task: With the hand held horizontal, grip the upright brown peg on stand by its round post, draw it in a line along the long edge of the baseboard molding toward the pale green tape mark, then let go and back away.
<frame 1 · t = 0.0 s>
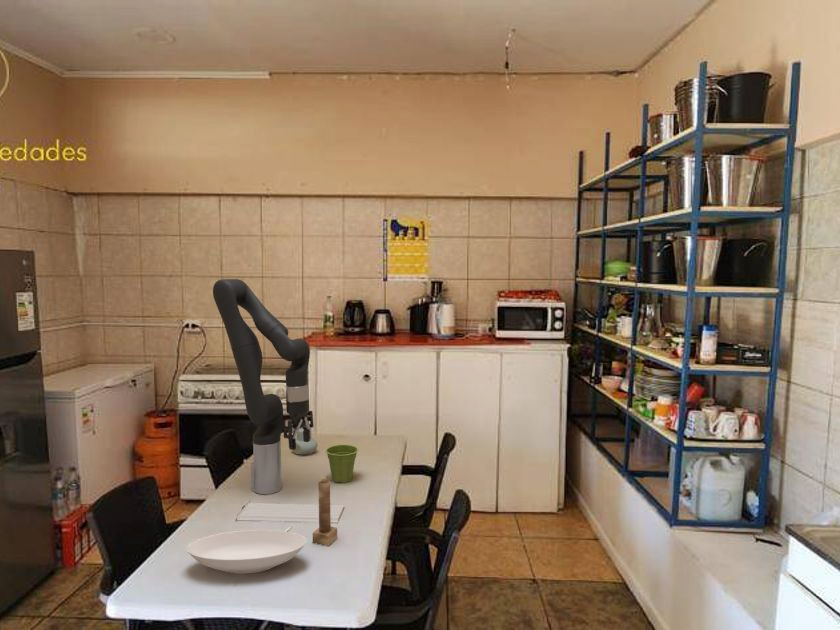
hand: (299, 445, 180), 17 cm above the table, tool pointing down, fingers open, 8 cm apart
brown peg on stand: (325, 540, 151), on the table
bowl: (248, 567, 138), on the table
plant pot: (342, 479, 195), on the table
tape mark: (284, 532, 155), on the table
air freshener: (304, 453, 224), on the table
baseboard molding: (291, 517, 166), on the table
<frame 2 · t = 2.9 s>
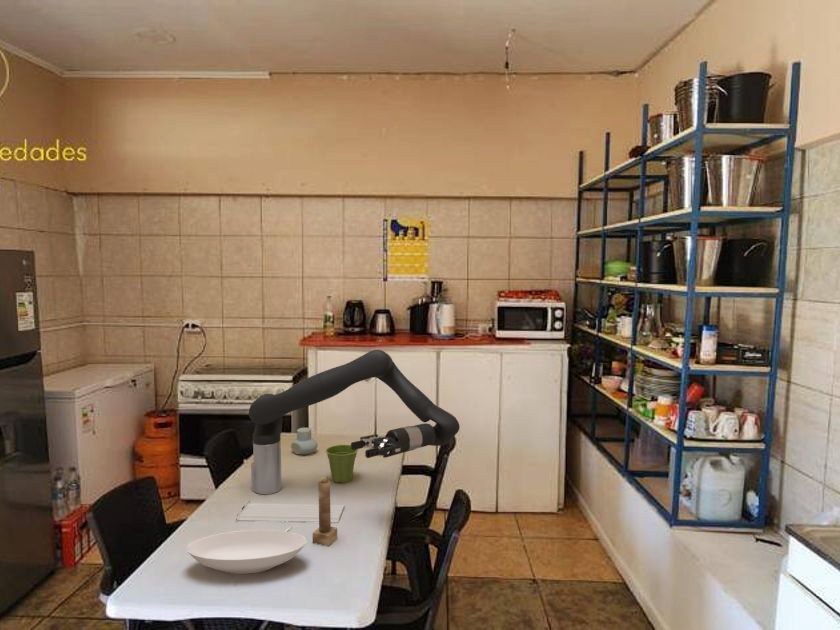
hand: (358, 450, 155), 24 cm above the table, tool horizontal, fingers open, 8 cm apart
nothing on the table moved.
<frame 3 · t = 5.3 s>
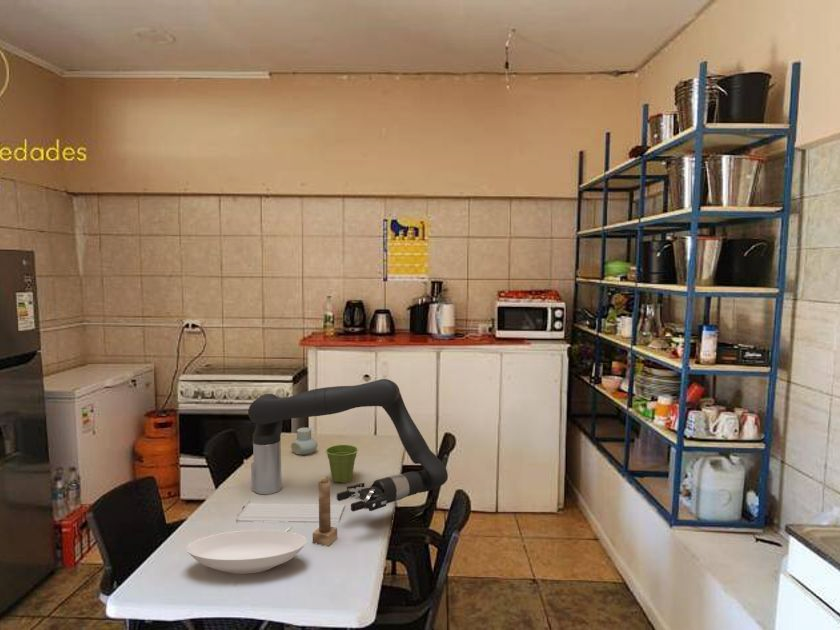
hand: (344, 502, 154), 9 cm above the table, tool horizontal, fingers open, 8 cm apart
nothing on the table moved.
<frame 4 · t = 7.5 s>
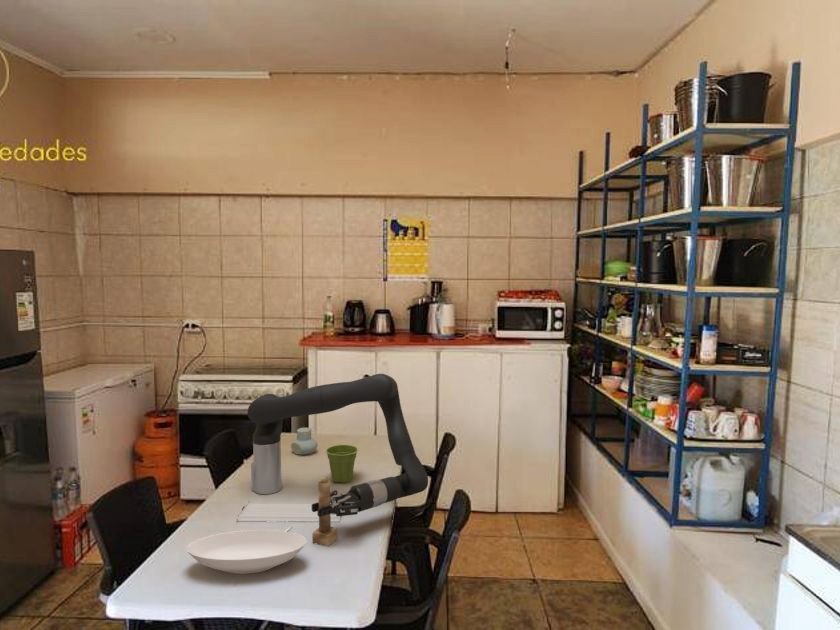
hand: (315, 510, 148), 10 cm above the table, tool horizontal, fingers closed on brown peg on stand, 3 cm apart
brown peg on stand: (325, 540, 151), on the table, touching gripper
everything else where it was.
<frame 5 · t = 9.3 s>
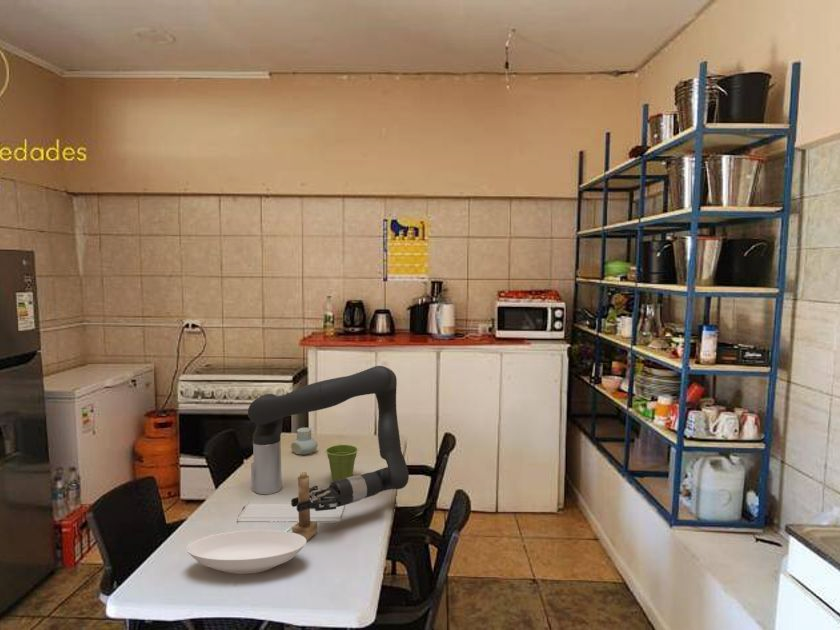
hand: (294, 505, 151), 10 cm above the table, tool horizontal, fingers closed on brown peg on stand, 3 cm apart
brown peg on stand: (304, 534, 153), on the table, touching gripper
everything else where it was.
when the fingers open (10 cm above the table, at t = 11.0 s): brown peg on stand stays where it is, on the table.
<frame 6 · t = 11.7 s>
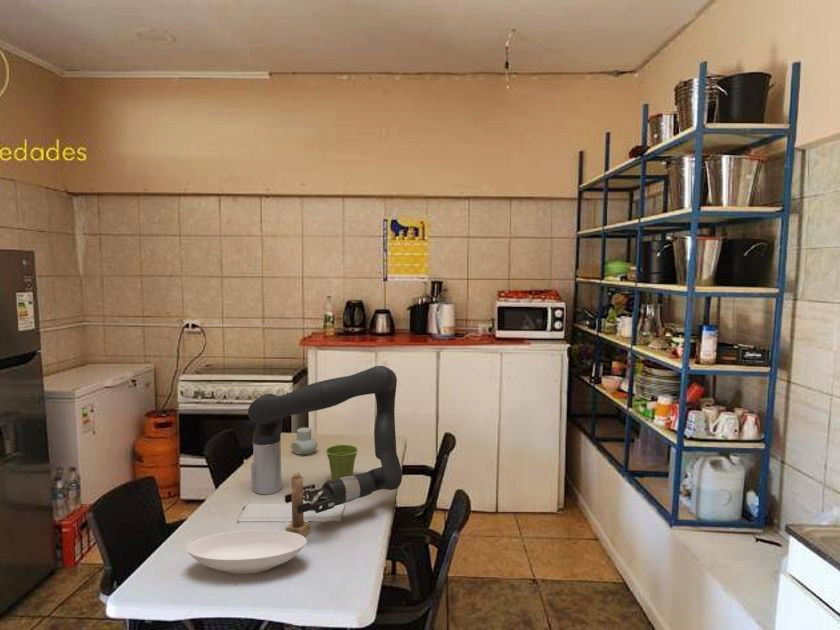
hand: (290, 504, 152), 10 cm above the table, tool horizontal, fingers open, 8 cm apart
brown peg on stand: (298, 534, 154), on the table
everything else where it was.
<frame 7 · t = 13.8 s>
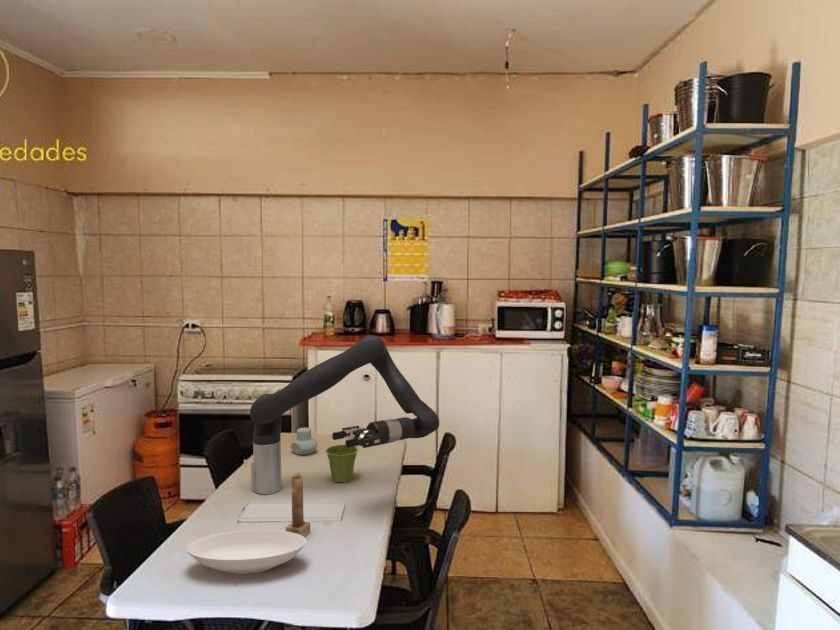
hand: (339, 440, 162), 25 cm above the table, tool horizontal, fingers open, 8 cm apart
nothing on the table moved.
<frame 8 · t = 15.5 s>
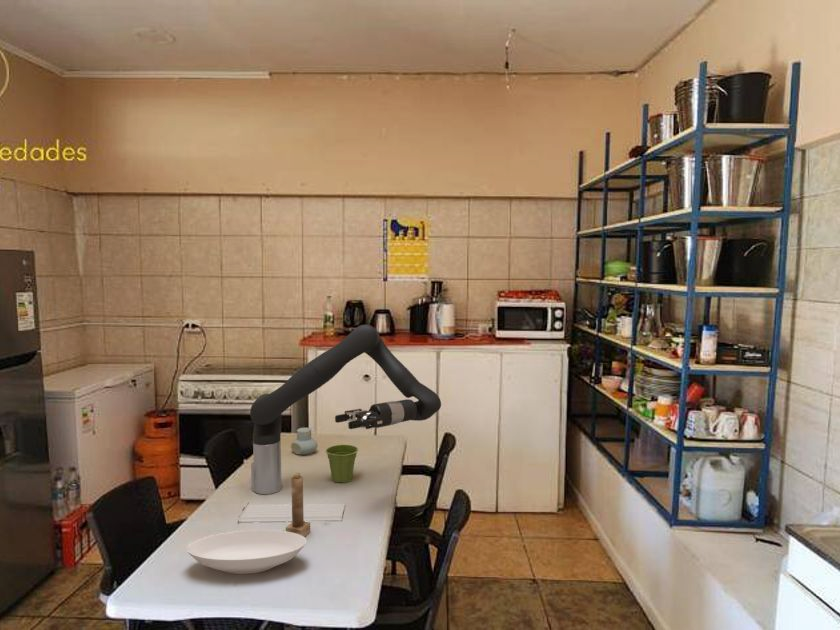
hand: (342, 422, 162), 30 cm above the table, tool horizontal, fingers open, 8 cm apart
nothing on the table moved.
at the end: brown peg on stand inside the target area (0.1 cm from its centre), on the table; brown peg on stand tilted 0°; the gripper is holding nothing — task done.
